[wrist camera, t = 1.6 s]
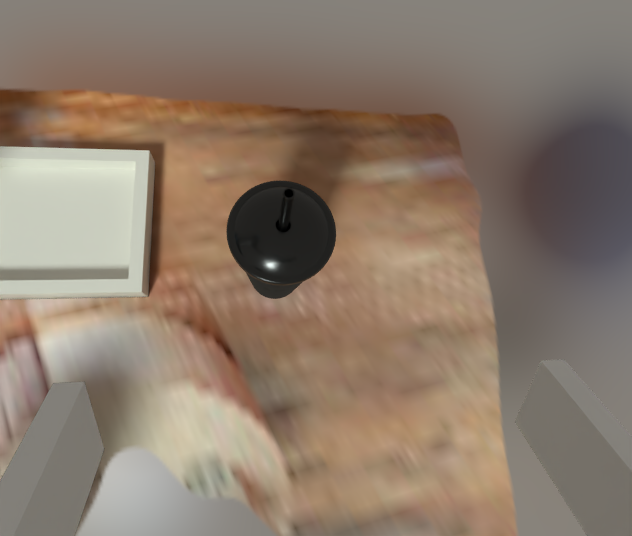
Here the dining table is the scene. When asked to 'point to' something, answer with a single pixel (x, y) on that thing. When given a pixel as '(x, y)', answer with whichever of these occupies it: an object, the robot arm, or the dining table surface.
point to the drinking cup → (280, 236)
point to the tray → (75, 222)
